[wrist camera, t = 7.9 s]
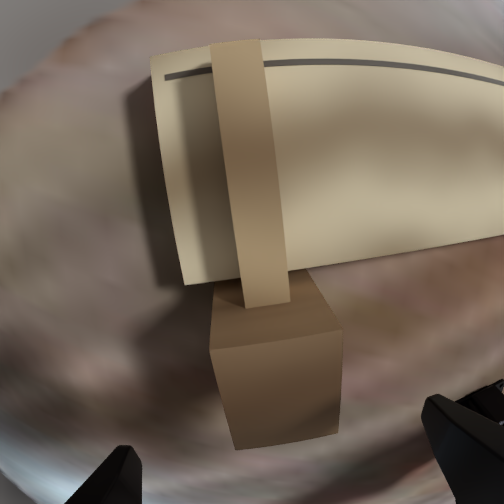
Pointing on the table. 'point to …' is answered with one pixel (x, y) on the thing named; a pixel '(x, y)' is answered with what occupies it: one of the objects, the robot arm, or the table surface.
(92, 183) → the table surface
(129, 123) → the table surface
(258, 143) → the wooden mallet
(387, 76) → the board
